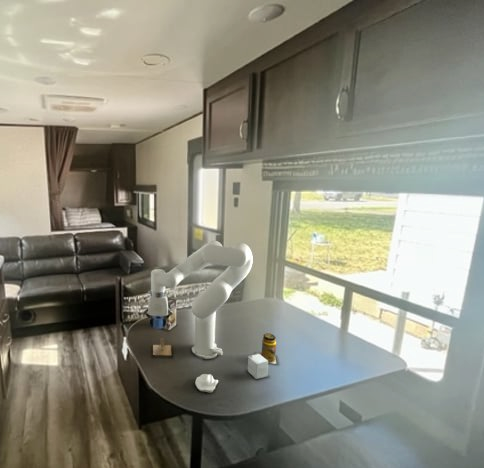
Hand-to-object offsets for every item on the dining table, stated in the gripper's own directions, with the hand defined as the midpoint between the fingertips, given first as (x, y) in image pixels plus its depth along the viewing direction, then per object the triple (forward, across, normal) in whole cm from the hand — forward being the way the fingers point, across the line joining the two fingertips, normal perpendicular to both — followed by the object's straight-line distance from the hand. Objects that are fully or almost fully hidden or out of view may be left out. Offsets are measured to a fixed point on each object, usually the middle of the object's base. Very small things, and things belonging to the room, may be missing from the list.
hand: (158, 325), depth 156 cm
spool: (0, 0, 0) cm, 0 cm away
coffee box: (+10, +6, +18) cm, 21 cm away
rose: (+9, +20, -34) cm, 40 cm away
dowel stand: (+9, +2, -9) cm, 13 cm away
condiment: (+9, +52, -14) cm, 54 cm away
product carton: (+9, +44, -25) cm, 51 cm away
